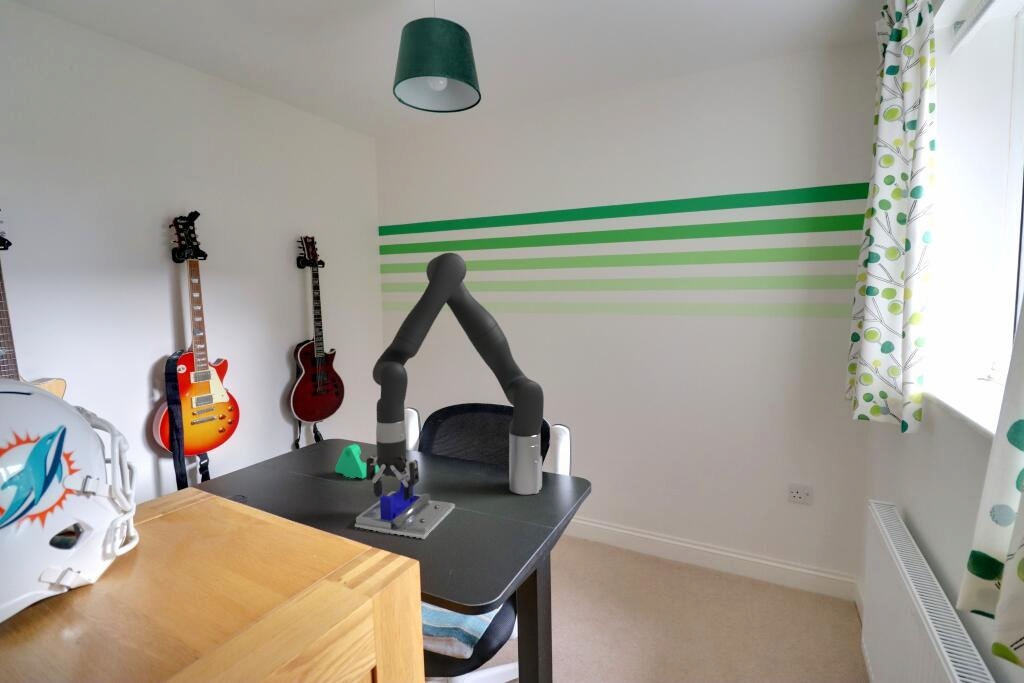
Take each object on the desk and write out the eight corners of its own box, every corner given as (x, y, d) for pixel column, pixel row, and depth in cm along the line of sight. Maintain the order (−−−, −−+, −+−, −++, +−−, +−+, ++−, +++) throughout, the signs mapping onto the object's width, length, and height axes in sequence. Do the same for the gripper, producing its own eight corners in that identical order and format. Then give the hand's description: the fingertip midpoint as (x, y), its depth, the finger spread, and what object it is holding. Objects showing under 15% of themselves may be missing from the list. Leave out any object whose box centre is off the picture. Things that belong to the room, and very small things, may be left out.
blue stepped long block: (398, 500, 132) (398, 479, 131) (413, 502, 130) (413, 481, 130) (375, 519, 120) (374, 497, 120) (391, 522, 119) (390, 499, 118)
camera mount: (380, 473, 155) (379, 443, 154) (362, 481, 148) (361, 449, 147) (353, 467, 160) (352, 438, 160) (335, 475, 154) (334, 444, 153)
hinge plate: (454, 507, 129) (454, 495, 129) (424, 539, 112) (423, 525, 112) (393, 498, 135) (393, 487, 135) (355, 528, 118) (354, 515, 118)
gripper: (422, 435, 124) (424, 495, 126) (375, 431, 129) (377, 489, 130) (408, 443, 117) (410, 507, 119) (358, 439, 121) (361, 500, 123)
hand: (392, 497), depth 124 cm, fingers open, 8 cm apart
